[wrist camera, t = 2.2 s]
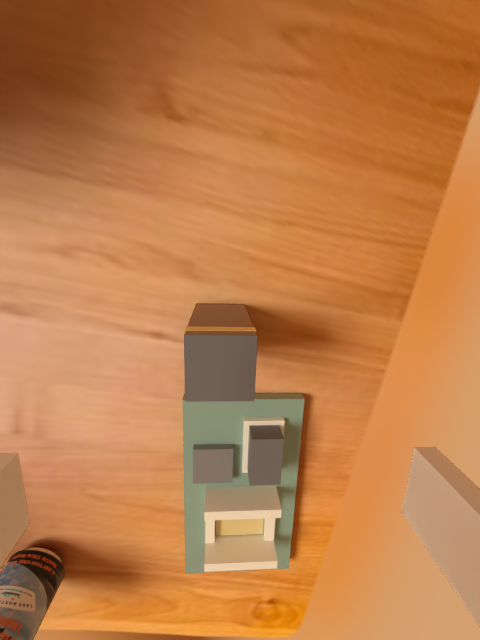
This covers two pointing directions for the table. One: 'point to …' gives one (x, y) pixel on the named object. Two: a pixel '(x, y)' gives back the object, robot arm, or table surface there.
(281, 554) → the board
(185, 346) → the plug
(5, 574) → the beverage can
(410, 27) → the table surface
